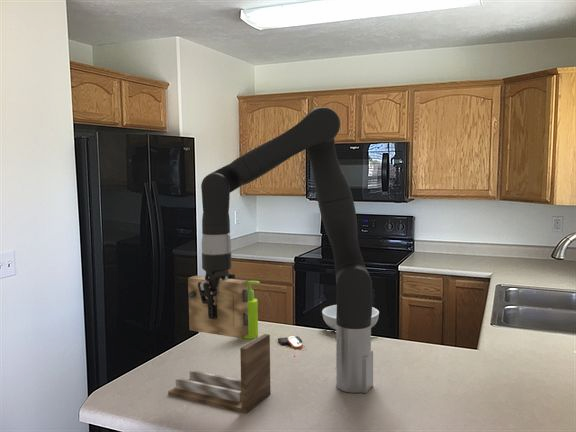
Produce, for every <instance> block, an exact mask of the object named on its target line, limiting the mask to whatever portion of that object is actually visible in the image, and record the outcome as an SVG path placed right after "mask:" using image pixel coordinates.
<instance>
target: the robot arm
mask: <svg viewBox="0 0 576 432" xmlns="http://www.w3.org/2000/svg"><path fill="white" fill-rule="evenodd" d="M340 128H341V120H340V117H339V115H338V113H337V112H336V111H335V110H333V109H332V108H329V107H327V106H326V107H325V106H321V107H320V106H319V107H315V108H313V109H311V111H309V112H308V113H307V114H306V115H305V116H304V117H303V118H302V119H301V120H300V121H298V123H297V124H295V125H294V126H292V127H291V128H289V129H288V130H286V131H285V132H283V133H282V134H280V135H278V136H276V137H274V138H272V139H270V140H267V142H265V143H263V144H260V145H258V146H256V147H254V148H253V149H251V150H249V151H247V152H246V153H244V154H242V155H241V156H239V157H237V158H236V159H234V160H233V161H231V162H230V163H229V164H226V165H225V166H222V167H220V168H218V169H216V170H215V171H212V172H210V173H209V174H206V176H205V177H204V178H203V179H202V181H201V185H200V189H201V200H202V201H201V202H202V219H201V228H202V229H201V233H202V235H201V236H202V238H201V267H202V270H203V271H205V280H204V281H203V282H199V283H198V288H199V292H200V296H201V300H202V303H204V304H207V305H208V317H209V319H217V305H216V304H217V296H218V295H219V285H220V281H222V279H236V274H234V273H229V270H231V268H232V267H233V266H232V240H231V222H230V221H231V219H230V213H229V212H230V199H231V198H230V197H231V196H230V194H231V193H232V192H234V191H236V190H237V189H239V188H240V187H242V186H244V185H247V184H251V183H252V182H253V181H256V180H257V179H259V178H260V177H262V176H264V175H266V174H267V173H269V172H270V171H272V170H273V169H275V168H277V167H279V166H280V165H281V164H282V163H284V162H286V161H287V160H289V159H291V158H292V157H294V156H296V155H298V154H299V153H300V152H301V153H302V152H303V151H305V150H306V151H307V154H308V157H309V161H310V163H311V167H312V168H311V169H312V173H313V175H312V177H313V183H314V187H315V193H316V197H317V202H318V208H319V212H320V216H321V220H322V224H323V226H324V230H325V232H326V235H327V237H328V240H329V243H330V246H331V250H332V254H333V261H334V269H335V270H334V271H335V283H336V305H337V313H336V330H335V333H336V334H335V335H336V337H335V338H336V340H335V342H336V344H335V345H336V346H335V347H336V350H335V352H336V354H335V355H336V356H335V357H336V369H335V370H336V371H335V372H336V377H335V378H336V383H335V384H336V385H335V386H336V387H337V389H339V390H340V391H343V392H346V393H351V394H356V393H357V394H359V393H363V394H367V393H368V392H369V391H370V389H371V388H372V387H373V385H374V350H372V328H371V316H372V307H373V281H372V276H370V275H371V274H370V273H369V271H368V269H367V267H366V264H365V262H364V261H365V260H364V258H363V255H362V252H361V249H360V245H359V244H360V243H359V236H358V235H359V234H358V220H357V213H356V208H355V201H354V198H353V197H354V196H353V193H352V190H351V187H350V185H349V181H348V179H347V177H346V175H345V173H344V171H343V170H342V167H341V165H340V162H339V159H338V156H337V151H336V143H335V138H336V136H337V135H338V133H339V131H340ZM210 290H211V291H215V292H211V291H210ZM211 295H213V300H212V296H211ZM205 296H206V297H207V299H206V297H205Z"/></svg>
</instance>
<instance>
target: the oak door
mask: <svg viewBox="0 0 576 432" xmlns="http://www.w3.org/2000/svg"><path fill="white" fill-rule="evenodd" d="M205 276H206V275H205ZM205 276H203V275H193V276H190V277H188V278H187V289H188V294H187V295H188V316H189V318H188V319H189V320H188V323H189V325H188V326H189V331H193V332H198V333H199V332H200V333H206V334H210V335H211V334H212V335H217V336H222V337H223V336H224V337H230V338H237V339H244V338H243V337H245V336H246V335H248V287H247V281H248V280H245V279H236V278H235V279H222V281H220V285H219V295H218V296H217V304H216V305H217V319H209V317H208V305H207V304H204V303H202V300H201V296H200V292H199V288H198V283H199V282H203V281H204V280H205ZM210 291H211V290H210ZM211 292H215V291H211ZM211 296H212V300H213V295H211ZM205 297H206V296H205ZM206 299H207V297H206Z"/></svg>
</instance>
